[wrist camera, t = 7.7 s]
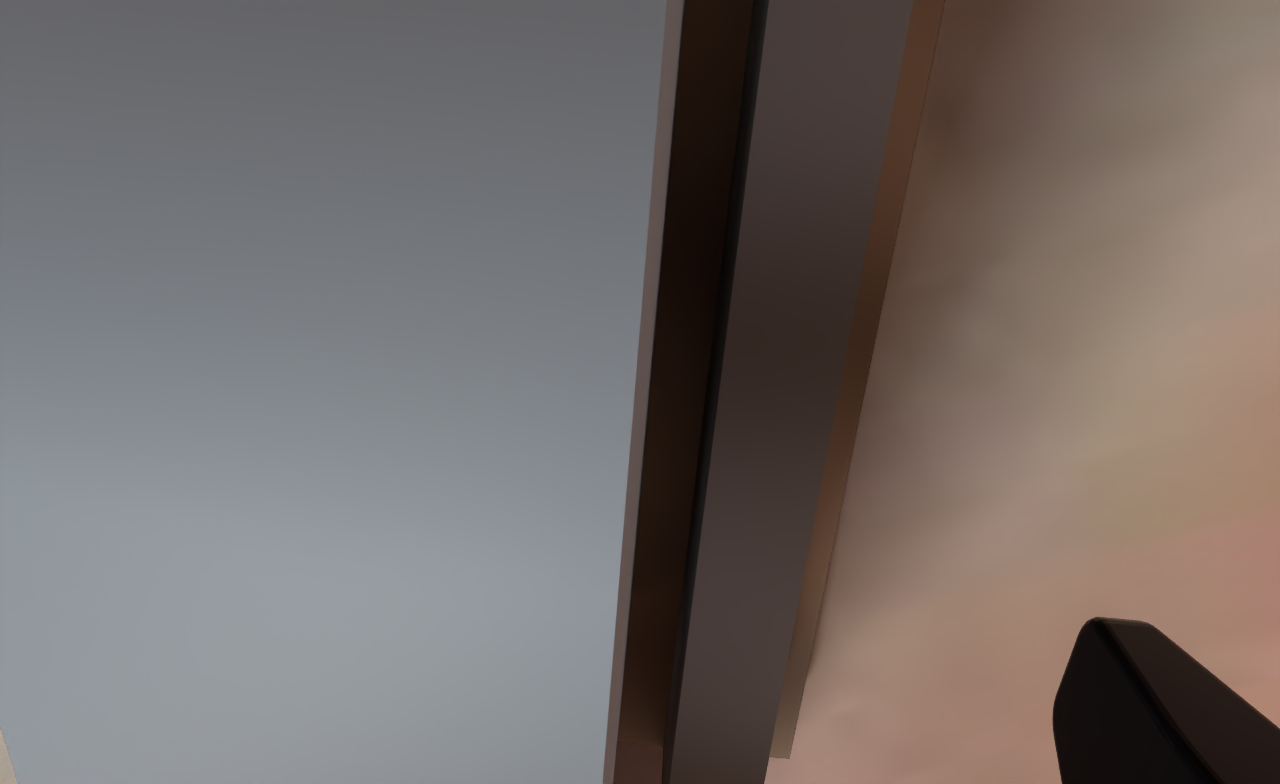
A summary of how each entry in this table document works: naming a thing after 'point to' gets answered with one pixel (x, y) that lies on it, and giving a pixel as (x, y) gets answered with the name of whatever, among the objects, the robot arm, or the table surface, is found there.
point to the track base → (762, 359)
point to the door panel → (325, 384)
